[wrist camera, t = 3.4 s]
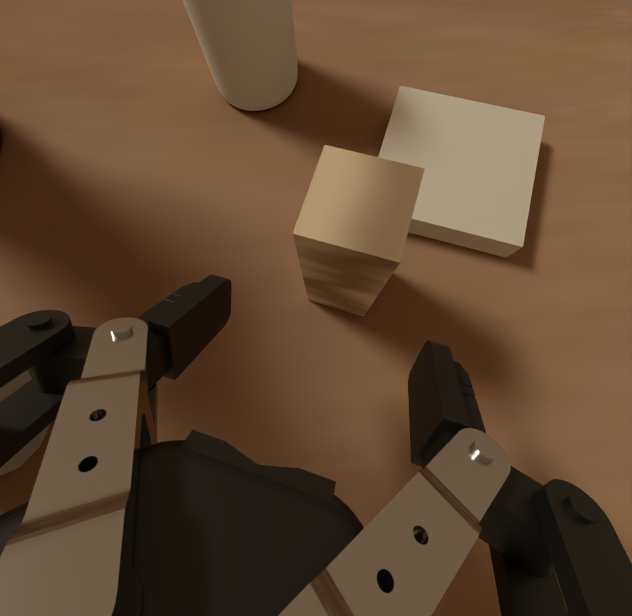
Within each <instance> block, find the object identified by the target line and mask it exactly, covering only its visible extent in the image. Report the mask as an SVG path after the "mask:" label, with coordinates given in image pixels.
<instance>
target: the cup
mask: <svg viewBox="0 0 632 616" xmlns="http://www.w3.org/2000/svg"><path fill="white" fill-rule="evenodd" d="M30 380H32V378H31V376H30V375H29V373H28V371H27V370H26V371H25V372H23V373H22V374H20V375H19V376H17V377H16V378H15V379H13V380H12V381H10V382H9V383H7V384H6V385H4V386H3V387H1V388H0V402H1V401H2V400H4V399H5V398H6V397H8V396H9V395H11V394H12V393H13V392H15V391H16V390H18V389H19V388H20V387H22V386H23V385H25V384H26V383H27V382H29V381H30ZM50 424H51V423H50ZM50 424H49V425H48V426H47V427H46V428H45V429H44V430H43V431H41V432H40V433H39V434H38V435H37V436H36V437H35V438H34V439H32V440H31V441H30V442H29V443H28V444H27V445H26V446H25V447H23V448H22V449H21V450H20V451H19V452H18V453H17V454H16V455H14V456H13V457H12V458H11V459H10V460H9V461H8V462H7V463H5V464H4V465H3V466H2V467H1V468H0V476H1V475H4V474H6V473H8V472H11V471H13V470H15V469H18V468H20V467H21V466H22V465H23V464H24V463H25V462H26V461H27V460H28V459H29V458H30V457H31V456H32V455H33V454H34V453H35V451H36V450H37V449H38V448H39V447H40V446H41V444H42V442H43V440H44V437H45V435H46V433H47V431H48V428H49V426H50Z"/></svg>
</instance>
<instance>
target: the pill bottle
mask: <svg viewBox="0 0 632 616" xmlns="http://www.w3.org/2000/svg"><path fill="white" fill-rule="evenodd" d="M183 2H184V5H185V7H186V10H187V12H188V15H189V17H190V20H191V22H192V25H193V28H194V30H195V33H196V35H197V38H198V40H199V43H200V45H201V48H202V51H203V53H204V56H205V58H206V61H207V63H208V66H209V68H210V71H211V73H212V76H213V79H214V81H215V84H216V86H217V88H218V90H219V92H220V93H221V95H222V96H223V98H224V99H225V100H226V101H227V102H228V103H230V104H231V105H233V106H234V107H237V108H239V109H242V110H247V111H261V110H266V109H269V108H272V107H274V106H277V105H278V104H280V103H282V102H283V101H284V100H285V99H286V98H288V96H289V95H290V94H291V93H292V91H293V89H294V87H295V85H296V82H297V76H298V63H297V54H296V44H295V34H294V25H293V15H292V5H291V0H183Z"/></svg>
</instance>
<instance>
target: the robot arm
mask: <svg viewBox="0 0 632 616" xmlns="http://www.w3.org/2000/svg"><path fill="white" fill-rule="evenodd" d="M0 141H1V133H0ZM230 312H231V281H230V280H229V279H226V278H222V277H219V276H216V275H209V276H208V277H206V278H205V279H204V280H202V281H201V282H200V283H197V282H195V283H192V284H189V285H186V286H183V287H182V288H180V289H179V290H177V291H176V292H174V294H171V295H170V296H169V297H167V298H166V300H163V301H161V302H160V303H158V304H157V305H156V306H154V307H153V308H151V309H150V310H148V311H147V312H146V313H144V314H143V315H141V316H140V317H138V318H131V317H124V318H117V319H113V320H110V321H107V322H105V323H103V324H102V325H100V326H99V327H98V328H91V327H78V326H72V323H71V320H70V317H69V316H68V315H67V314H66V313H64V312H62V311H56V310H43V311H37V312H32V313H29V314H26V315H23V316H20V317H18V318H16V319H14V320H12V321H10V322H8V323H7V324H5V325H3V326H1V327H0V388H1V387H3V386H4V385H6V384H7V383H9V382H10V381H12V380H13V379H15V378H16V377H17V376H19V375H20V374H22V373H23V372H25V371H26V370H27V371H28V373H29V375H30V376H31V378H32V380H30V381H29V382H27V383H26V384H25V385H23V386H22V387H20V388H19V389H18V390H16V391H15V392H13V393H12V394H11V395H9V396H8V397H6V398H5V399H4V400H2V401H1V402H0V468H1V467H2V466H3V465H4V464H5V463H7V462H8V461H9V460H10V459H11V458H12V457H13V456H14V455H16V454H17V453H18V452H19V451H20V450H21V449H22V448H23V447H25V446H26V445H27V444H28V443H29V442H30V441H31V440H32V439H34V438H35V437H36V436H37V435H38V434H39V433H40V432H41V431H43V430H44V429H45V428H46V427H47V426H48V425H49V424H50V423H52V422H53V421H54V420H55V419H56V421H55V424H54V427H53V430H52V433H51V436H50V439H49V442H48V445H47V448H46V451H45V454H44V458H43V461H42V464H41V467H40V470H39V473H38V476H37V479H36V482H35V485H34V488H33V492H32V495H31V498H30V501H29V502H27V503H25V504H23V505H21V506H19V507H17V508H15V509H13V510H11V511H9V512H6V513H4V514H2V515H0V616H431V615H432V614H433V612H434V610H435V609H436V607H437V605H438V604H439V602H440V600H441V598H442V597H443V595H444V593H445V592H446V590H447V588H448V587H449V585H450V583H451V582H452V580H453V578H454V577H455V575H456V573H457V572H458V570H459V568H460V567H461V565H462V563H463V561H464V560H465V558H466V556H467V555H468V553H469V551H470V550H471V548H472V546H473V545H474V543H475V541H476V540H477V538H478V537H479V538H481V539H482V540H484V541H485V542H486V543H488V544H489V548H490V553H491V559H492V564H493V570H494V576H495V581H496V587H497V593H498V598H499V604H500V610H501V615H502V616H632V564H631V562H630V560H629V558H628V556H627V554H626V552H625V550H624V548H623V546H622V544H621V542H620V540H619V538H618V536H617V534H616V532H615V530H614V528H613V526H612V524H611V522H610V521H609V519H608V517H607V516H606V514H605V513H604V511H603V510H602V509H601V508H600V507H599V505H598V504H597V503H596V502H595V501H594V500H593V499H592V498H591V497H590V496H588V495H587V494H586V493H585V492H584V491H582V490H581V489H579V488H578V487H576V486H574V485H573V484H571V483H569V482H566V481H563V480H559V479H553V480H550V481H549V482H548V483H546V484H545V485H544V486H543V485H541V484H540V483H538V482H536V481H535V480H533V479H531V478H530V477H528V476H526V475H525V474H523V473H521V472H520V471H518V470H517V469H515V468H514V467H512V466H511V465H510V461H509V458H508V456H507V454H506V453H505V451H504V450H503V448H502V447H501V446H500V445H499V444H498V443H497V442H496V441H495V440H494V439H493V438H492V437H490V436H489V435H487V434H486V431H485V428H484V424H483V421H482V418H481V415H480V411H479V408H478V405H477V401H476V399H475V395H474V391H473V389H472V385H471V381H470V378H469V375H468V374H467V372H466V371H465V370H464V368H463V367H462V366H461V364H460V363H457V362H454V361H453V358H452V354H451V350H450V347H449V346H447V345H444V344H440V343H437V342H434V341H430V340H428V341H427V342H426V343H425V344H424V346H423V348H422V350H421V352H420V354H419V356H418V358H417V359H416V361H415V363H414V365H413V367H412V369H411V371H410V375H409V379H408V397H409V420H410V443H411V463H413V464H416V465H419V466H422V467H423V468H422V469H421V470H420V471H419V472H418V473H417V474H416V475H415V476H414V477H413V478H412V479H411V480H410V481H409V482H408V483H407V484H406V485H405V486H404V487H403V488H402V489H401V490H400V491H399V492H398V493H397V495H396V496H395V497H394V498H393V499H392V500H391V501H390V502H389V503H388V504H387V505H386V506H385V507H384V508H383V509H382V510H381V511H380V512H379V513H378V514H377V515H376V516H375V517H374V518H373V520H372V521H371V522H370V523H369V524H368V525H367V526H366V527H365V528H364V527H363V525H362V524H361V522H360V521H359V519H358V518H357V517H356V515H355V514H354V513H353V512H352V510H351V509H350V508H349V507H348V506H347V505H346V504H345V503H344V502H343V501H342V500H341V499H339V498H338V497H337V496H335V495H334V489H335V483H336V482H335V481H332V480H330V479H327V478H324V477H321V476H319V475H316V474H313V473H310V472H308V471H305V470H302V469H299V468H288V467H275V466H263V465H258V464H256V463H254V462H253V461H252V460H250V459H249V458H248V457H246V456H245V455H243V454H242V453H241V452H239V451H238V450H237V449H235V448H234V447H233V446H231V445H230V444H228V443H227V442H225V441H222V440H219V439H217V438H214V437H211V436H208V435H206V434H203V433H200V432H197V431H195V430H192V431H191V433H190V434H189V436H188V437H187V438H186V440H185V441H184V440H176V441H166V442H160V443H158V440H157V402H158V384H157V381H158V380H159V379H160V378H161V377H162V376H165V377H168V378H171V379H174V380H175V379H176V378H177V377H178V376H179V375H180V374H181V373H182V372H183V371H184V370H185V369H186V367H187V366H188V365H189V364H190V363H191V362H192V361H193V360H194V359H195V358H196V357H197V355H198V354H199V353H200V352H201V351H202V350H203V349H204V348H205V347H206V346H207V345H208V343H209V342H210V341H211V340H212V339H213V338H214V337H215V336H216V335H217V334H218V333H219V331H220V330H221V329H222V328H223V327H224V326H225V325H226V323H227V322H228V319H229V317H230ZM555 572H556V575H557V578H558V581H559V584H560V587H559V584H558V581H557V578H556V575H555ZM560 588H561V590H560ZM561 591H562V594H563V597H564V600H565V603H566V606H567V609H566V606H565V603H564V600H563V597H562V594H561ZM567 610H568V612H567Z"/></svg>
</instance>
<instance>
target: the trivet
mask: <svg viewBox="0 0 632 616" xmlns="http://www.w3.org/2000/svg"><path fill="white" fill-rule="evenodd" d="M544 119H545V116H542V115H538V114H533V113H528V112H523V111H518V110H514V109H509V108H504V107H499V106H495V105H490V104H485V103H480V102H475V101H471V100H466V99H461V98H456V97H452V96H447V95H442V94H437V93H432V92H428V91H423V90H418V89H413V88H409V87H404V86H400V88H399V91H398V94H397V98H396V101H395V104H394V107H393V111H392V114H391V117H390V120H389V124H388V127H387V130H386V133H385V137H384V140H383V143H382V146H381V150H380V153H379V156H378V158H383V159H387V160H391V161H395V162H400V163H404V164H408V165H412V166H416V167H421V168H425V170H424V174H423V177H422V181H421V185H420V189H419V193H418V196H417V200H416V204H415V208H414V211H413V215H412V219H411V223H410V227H409V230H408V232H409V233H413V234H417V235H420V236H424V237H428V238H432V239H436V240H440V241H443V242H447V243H451V244H455V245H459V246H463V247H466V248H470V249H474V250H478V251H482V252H486V253H489V254H493V255H497V256H501V257H505V258H506V257H508V256H510V255H511V254H513V253H514V252H516V251H517V250H519V249H520V248H522V247H523V243H524V238H525V232H526V226H527V220H528V214H529V208H530V202H531V196H532V190H533V184H534V178H535V172H536V166H537V160H538V155H539V149H540V143H541V137H542V131H543V125H544Z"/></svg>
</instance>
